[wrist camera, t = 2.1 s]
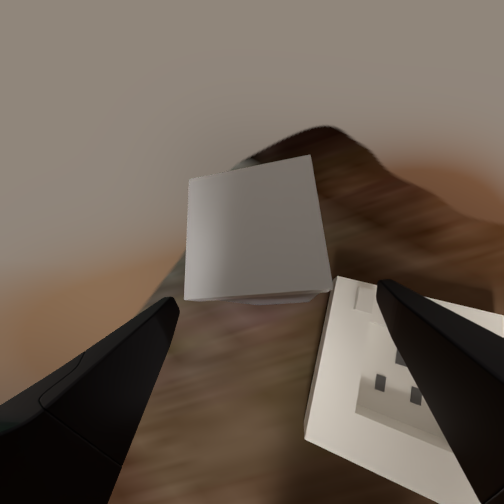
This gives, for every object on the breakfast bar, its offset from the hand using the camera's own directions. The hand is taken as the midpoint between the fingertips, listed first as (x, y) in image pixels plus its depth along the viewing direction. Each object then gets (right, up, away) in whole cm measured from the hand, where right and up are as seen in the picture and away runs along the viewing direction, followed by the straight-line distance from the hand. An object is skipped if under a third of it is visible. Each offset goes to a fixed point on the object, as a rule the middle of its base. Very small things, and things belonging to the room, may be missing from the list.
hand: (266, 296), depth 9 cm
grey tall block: (+2, 0, +9) cm, 10 cm away
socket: (+10, -7, +6) cm, 13 cm away
